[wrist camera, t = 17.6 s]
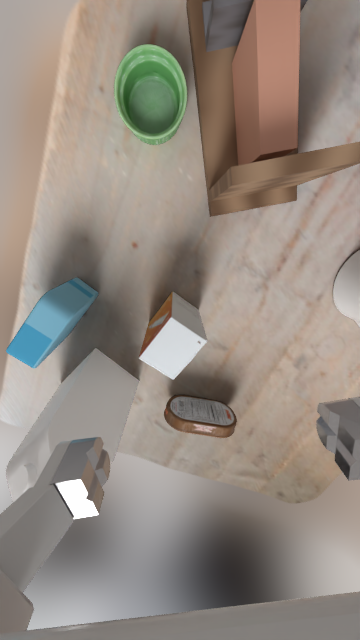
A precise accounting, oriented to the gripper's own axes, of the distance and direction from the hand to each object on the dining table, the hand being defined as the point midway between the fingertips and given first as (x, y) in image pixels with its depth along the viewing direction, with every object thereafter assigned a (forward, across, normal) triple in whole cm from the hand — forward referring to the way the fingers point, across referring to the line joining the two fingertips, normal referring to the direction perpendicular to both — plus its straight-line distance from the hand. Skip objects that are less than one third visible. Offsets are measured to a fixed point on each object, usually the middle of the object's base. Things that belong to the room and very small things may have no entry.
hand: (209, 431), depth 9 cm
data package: (+34, +21, +3) cm, 40 cm away
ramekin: (+34, 0, -23) cm, 41 cm away
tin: (+34, +1, +29) cm, 45 cm away
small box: (+34, +3, +8) cm, 35 cm away
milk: (+34, +21, +20) cm, 45 cm away
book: (+32, -13, -19) cm, 39 cm away
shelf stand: (+34, -13, -19) cm, 41 cm away
